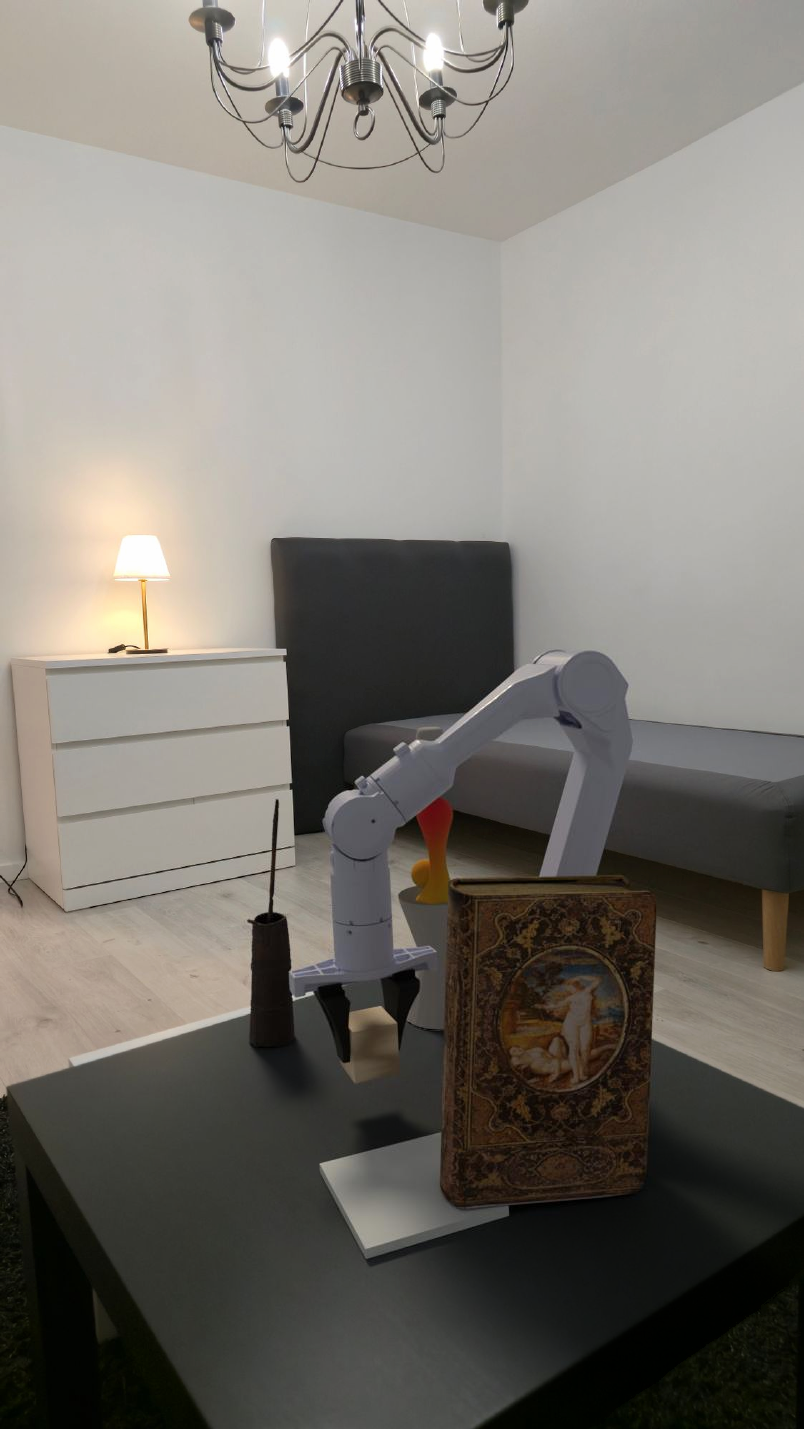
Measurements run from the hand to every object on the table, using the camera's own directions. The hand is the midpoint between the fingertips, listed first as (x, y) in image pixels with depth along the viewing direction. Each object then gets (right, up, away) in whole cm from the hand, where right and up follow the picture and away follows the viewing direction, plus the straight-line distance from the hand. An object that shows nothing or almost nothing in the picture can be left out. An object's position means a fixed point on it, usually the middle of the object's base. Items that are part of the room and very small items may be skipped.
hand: (368, 1052), depth 88 cm
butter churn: (-12, -5, +16) cm, 21 cm away
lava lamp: (+8, -4, +22) cm, 23 cm away
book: (+14, -6, -13) cm, 21 cm away
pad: (+4, -7, -13) cm, 15 cm away
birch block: (0, -2, 0) cm, 2 cm away
